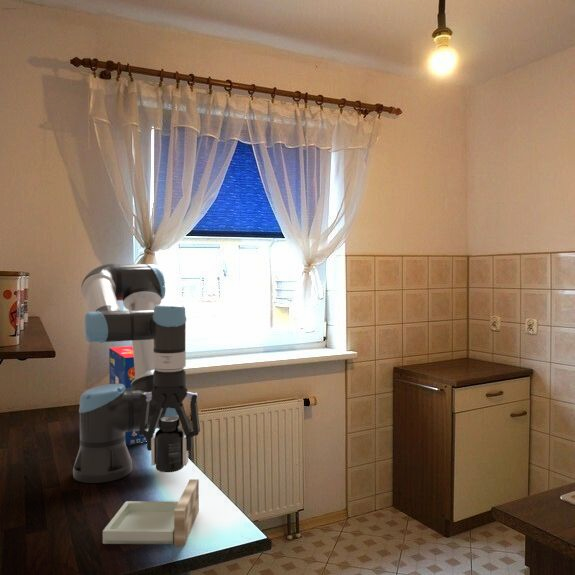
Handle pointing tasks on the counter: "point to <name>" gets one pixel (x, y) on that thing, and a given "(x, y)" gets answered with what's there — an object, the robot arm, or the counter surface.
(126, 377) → the pasta box
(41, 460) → the counter surface
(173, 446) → the supplement bottle
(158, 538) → the sliding tray
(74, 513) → the counter surface
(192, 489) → the backstop wall
